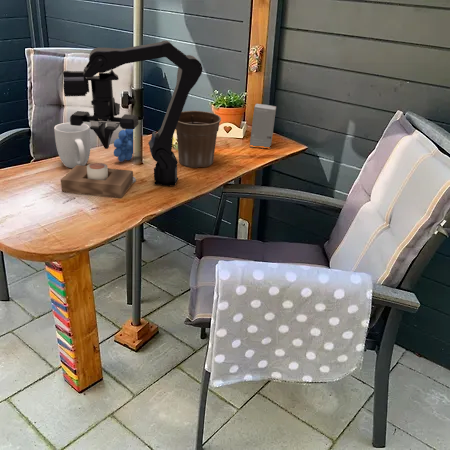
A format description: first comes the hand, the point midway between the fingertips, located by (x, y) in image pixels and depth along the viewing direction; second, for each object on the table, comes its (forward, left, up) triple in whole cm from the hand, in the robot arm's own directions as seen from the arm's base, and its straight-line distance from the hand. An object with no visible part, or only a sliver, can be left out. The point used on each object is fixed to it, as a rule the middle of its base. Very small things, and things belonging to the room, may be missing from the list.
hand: (106, 148), depth 146 cm
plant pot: (-23, -26, -12) cm, 37 cm away
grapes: (+1, -22, -12) cm, 25 cm away
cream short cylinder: (+2, +3, -11) cm, 12 cm away
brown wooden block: (+2, +3, -12) cm, 12 cm away
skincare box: (-44, -51, -12) cm, 68 cm away
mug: (+15, -12, -12) cm, 23 cm away
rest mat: (-4, -4, -12) cm, 13 cm away
